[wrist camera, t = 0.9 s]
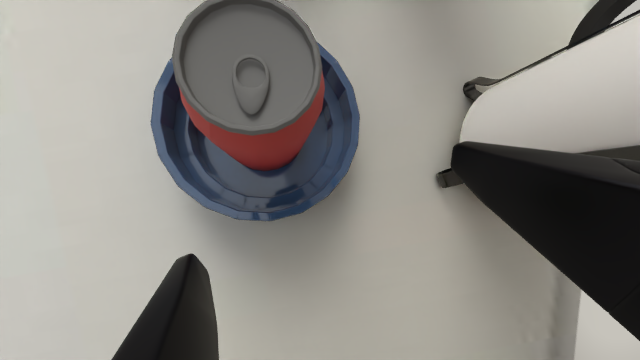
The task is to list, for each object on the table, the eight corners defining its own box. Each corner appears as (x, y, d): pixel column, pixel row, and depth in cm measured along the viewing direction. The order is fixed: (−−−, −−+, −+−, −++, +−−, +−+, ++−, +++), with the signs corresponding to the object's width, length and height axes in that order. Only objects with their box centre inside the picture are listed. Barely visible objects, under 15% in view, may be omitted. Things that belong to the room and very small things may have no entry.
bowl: (309, 237, 22) (317, 249, 17) (149, 177, 20) (112, 173, 15) (364, 96, 23) (385, 74, 19) (220, 27, 21) (205, -16, 17)
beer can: (225, 172, 21) (154, 147, 9) (224, 93, 21) (155, -34, 9) (304, 171, 22) (337, 148, 10) (303, 96, 22) (333, -14, 10)
